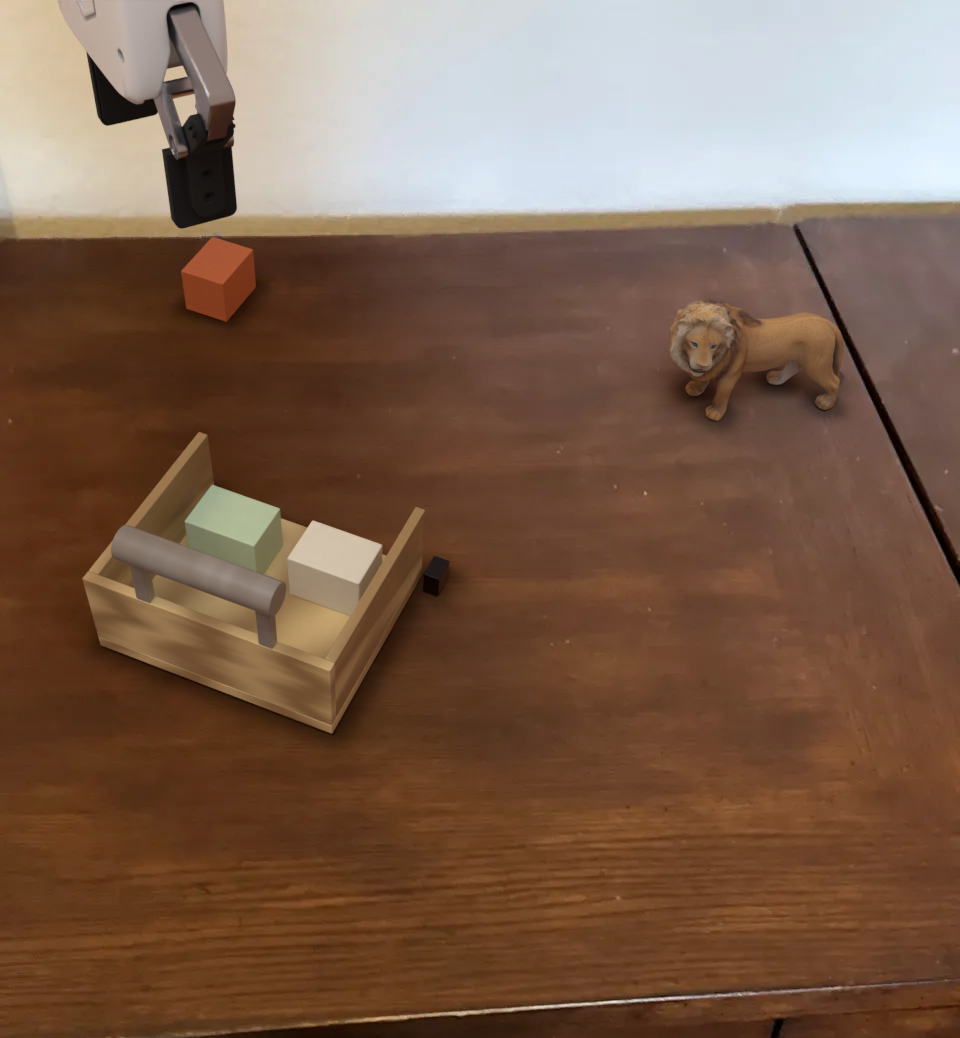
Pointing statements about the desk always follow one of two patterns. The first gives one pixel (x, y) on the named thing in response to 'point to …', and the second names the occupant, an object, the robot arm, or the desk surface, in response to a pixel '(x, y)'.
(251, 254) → the orange block
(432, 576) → the stand
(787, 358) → the lion figurine
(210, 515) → the block
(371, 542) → the block
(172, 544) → the wooden box
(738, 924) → the desk surface
